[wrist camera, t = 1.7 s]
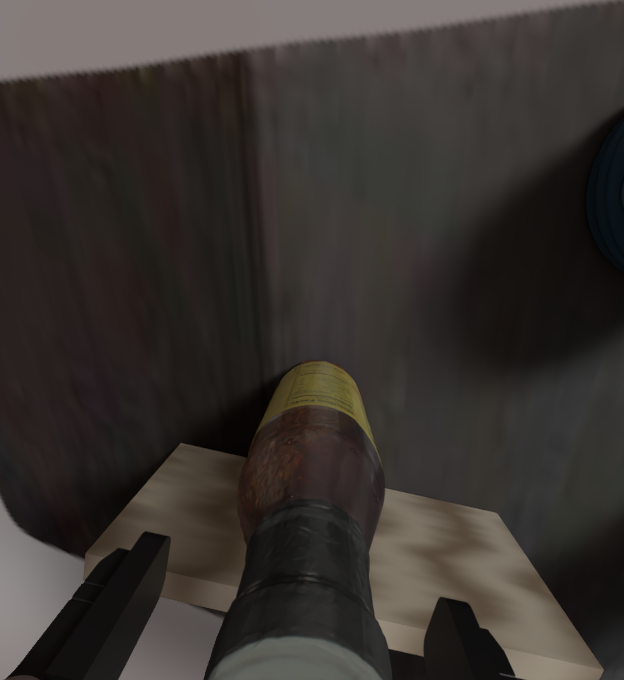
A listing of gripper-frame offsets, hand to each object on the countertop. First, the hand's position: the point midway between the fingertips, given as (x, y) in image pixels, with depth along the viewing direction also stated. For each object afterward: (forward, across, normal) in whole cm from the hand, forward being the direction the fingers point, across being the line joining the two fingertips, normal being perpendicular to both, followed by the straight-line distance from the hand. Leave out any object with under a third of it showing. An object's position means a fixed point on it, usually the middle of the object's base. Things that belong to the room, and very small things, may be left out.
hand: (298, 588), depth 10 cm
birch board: (+16, -3, +8) cm, 18 cm away
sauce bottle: (+17, 0, 0) cm, 17 cm away
